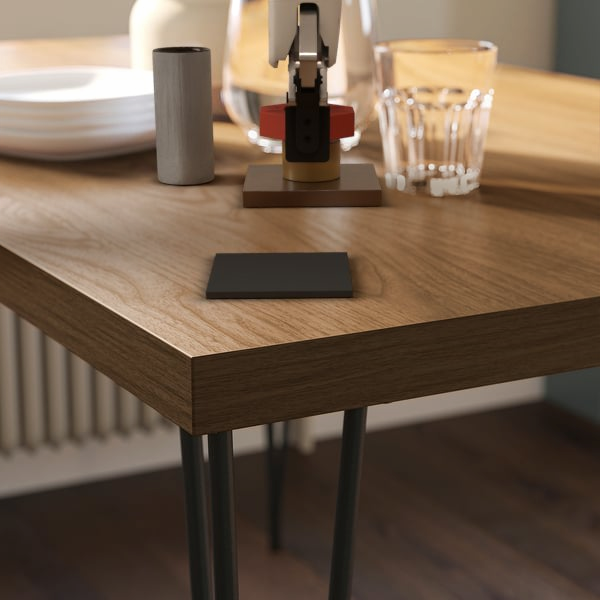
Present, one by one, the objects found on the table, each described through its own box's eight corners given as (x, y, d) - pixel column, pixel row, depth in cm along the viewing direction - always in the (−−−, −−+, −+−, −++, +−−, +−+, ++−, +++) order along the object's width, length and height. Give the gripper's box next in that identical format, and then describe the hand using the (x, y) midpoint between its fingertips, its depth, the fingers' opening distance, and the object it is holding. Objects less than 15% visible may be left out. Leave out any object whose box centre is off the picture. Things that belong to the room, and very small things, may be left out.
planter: (180, 188, 91) (175, 53, 88) (146, 179, 95) (140, 49, 92) (226, 179, 94) (222, 48, 91) (191, 171, 98) (187, 45, 94)
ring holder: (242, 207, 85) (240, 112, 83) (248, 179, 94) (246, 93, 92) (381, 205, 85) (382, 111, 83) (373, 178, 94) (374, 92, 92)
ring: (258, 140, 85) (258, 115, 84) (261, 125, 92) (261, 102, 91) (355, 141, 85) (356, 116, 84) (351, 126, 92) (351, 103, 91)
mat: (205, 298, 64) (205, 291, 64) (215, 259, 72) (215, 253, 71) (353, 297, 64) (353, 290, 64) (347, 258, 72) (347, 251, 71)
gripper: (259, -94, 92) (260, 133, 97) (250, -101, 75) (252, 174, 80) (355, -94, 92) (352, 133, 97) (367, -101, 75) (362, 174, 80)
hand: (307, 150), depth 89 cm, fingers closed on ring, 7 cm apart
